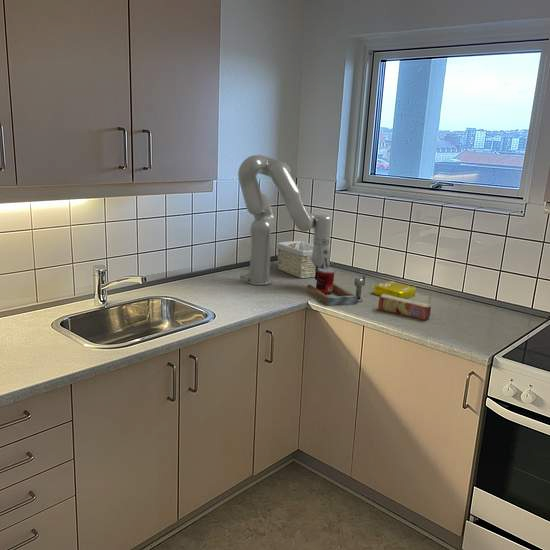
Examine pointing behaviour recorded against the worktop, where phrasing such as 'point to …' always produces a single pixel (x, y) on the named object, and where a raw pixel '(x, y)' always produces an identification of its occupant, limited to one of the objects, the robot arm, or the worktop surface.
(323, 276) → the canned food
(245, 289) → the worktop surface
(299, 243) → the storage basket
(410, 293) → the element tile
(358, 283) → the grey metal upright piece
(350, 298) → the bay
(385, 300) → the snack package
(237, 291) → the worktop surface
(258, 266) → the robot arm
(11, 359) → the worktop surface
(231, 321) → the worktop surface
